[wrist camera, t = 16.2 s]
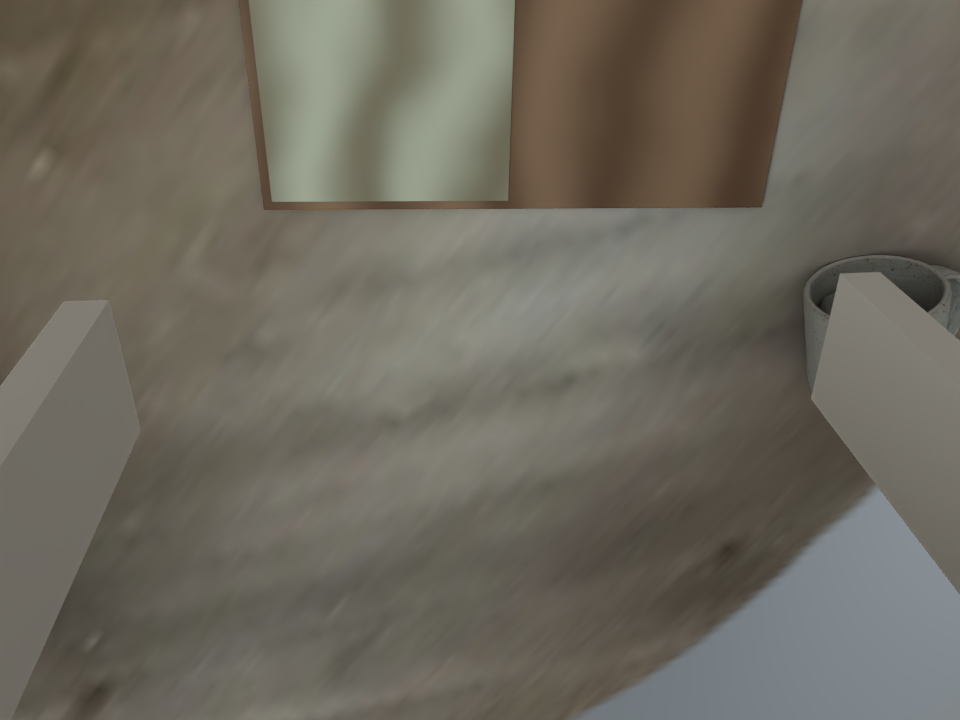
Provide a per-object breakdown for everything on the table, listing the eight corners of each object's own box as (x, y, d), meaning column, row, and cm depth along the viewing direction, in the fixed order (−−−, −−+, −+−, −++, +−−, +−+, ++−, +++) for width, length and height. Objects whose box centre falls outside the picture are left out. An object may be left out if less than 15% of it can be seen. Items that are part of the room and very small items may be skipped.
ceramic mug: (790, 382, 56) (841, 454, 49) (782, 272, 52) (837, 335, 45) (953, 341, 55) (1027, 408, 49) (958, 227, 51) (1040, 283, 44)
